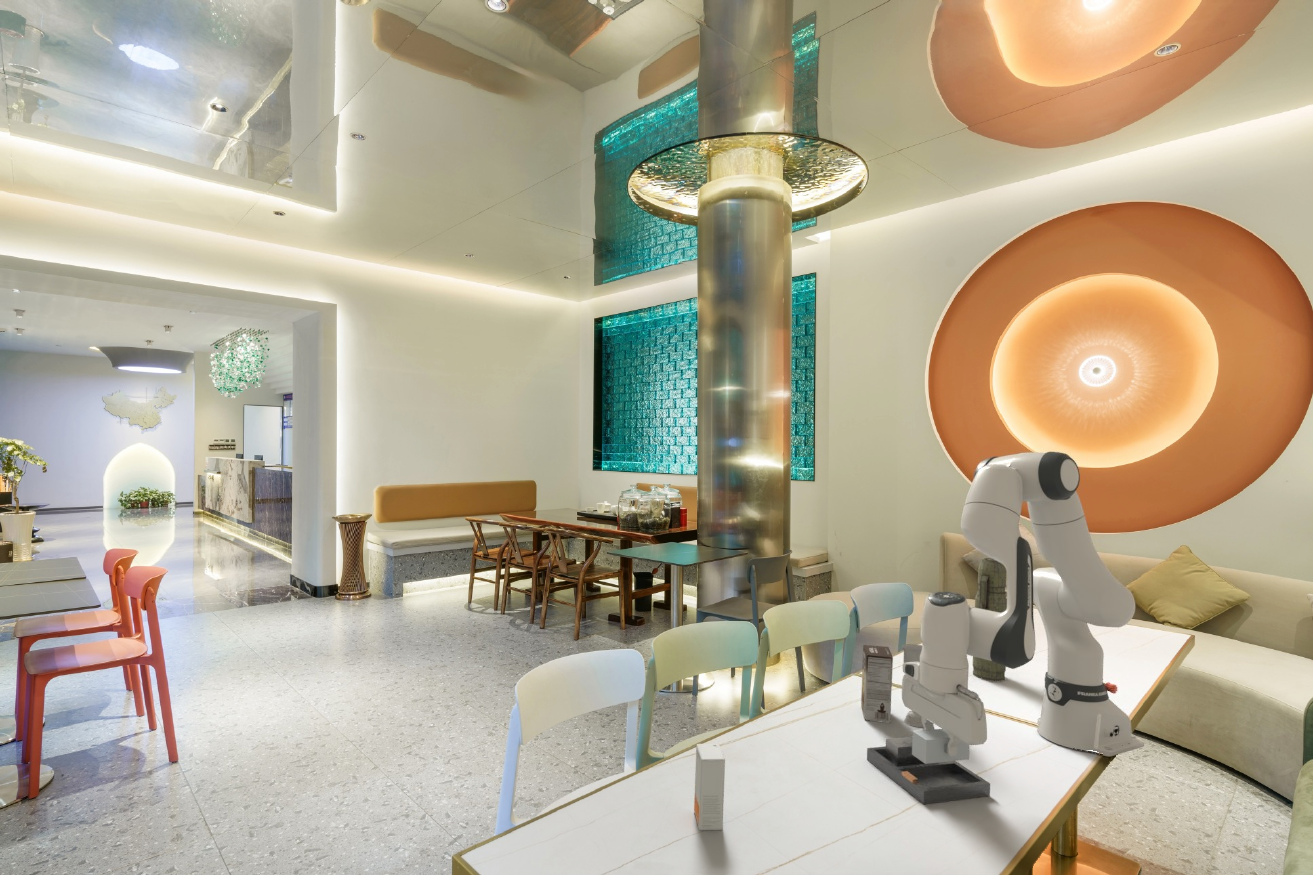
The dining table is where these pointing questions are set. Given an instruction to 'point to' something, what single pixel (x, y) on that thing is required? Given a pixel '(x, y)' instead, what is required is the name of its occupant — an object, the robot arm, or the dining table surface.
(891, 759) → the tray
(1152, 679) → the dining table surface
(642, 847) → the dining table surface
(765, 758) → the dining table surface
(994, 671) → the thermos
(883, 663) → the coffee box
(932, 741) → the pale grey rectangular block
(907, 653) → the chalice
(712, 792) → the skincare box
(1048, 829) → the dining table surface
